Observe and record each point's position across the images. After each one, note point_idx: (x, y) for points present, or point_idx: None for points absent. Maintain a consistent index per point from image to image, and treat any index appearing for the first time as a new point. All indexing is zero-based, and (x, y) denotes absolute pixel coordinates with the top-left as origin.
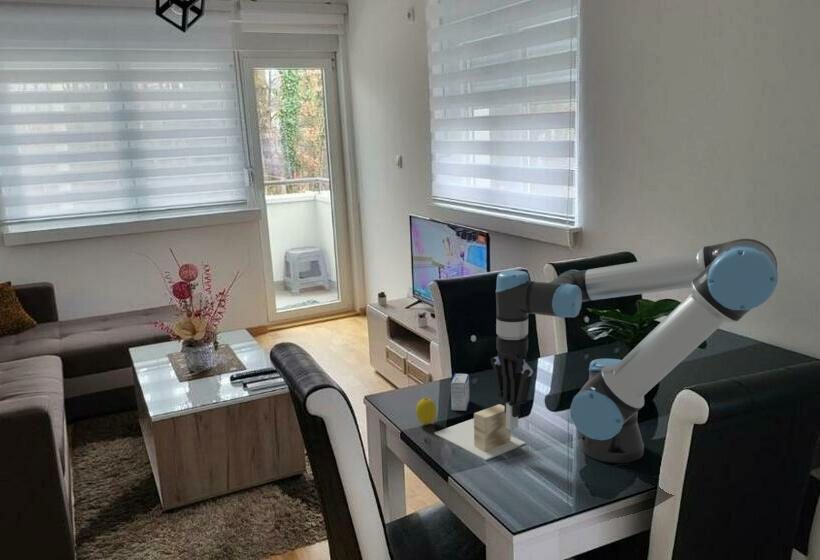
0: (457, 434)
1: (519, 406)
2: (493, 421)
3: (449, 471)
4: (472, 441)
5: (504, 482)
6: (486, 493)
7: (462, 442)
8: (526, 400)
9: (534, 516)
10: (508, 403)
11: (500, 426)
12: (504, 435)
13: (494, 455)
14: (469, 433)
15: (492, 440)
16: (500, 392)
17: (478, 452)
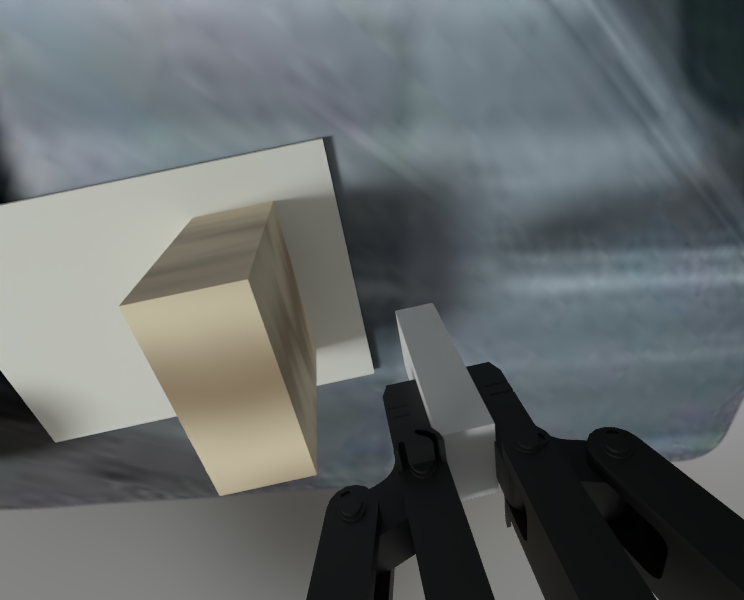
0: (105, 376)
1: (530, 420)
2: (299, 390)
3: (374, 480)
4: None
5: (533, 380)
6: None
7: None
8: (643, 447)
9: (716, 393)
10: (465, 492)
11: (287, 316)
12: (282, 260)
13: (365, 333)
14: (110, 329)
15: (304, 333)
16: (387, 597)
17: None
